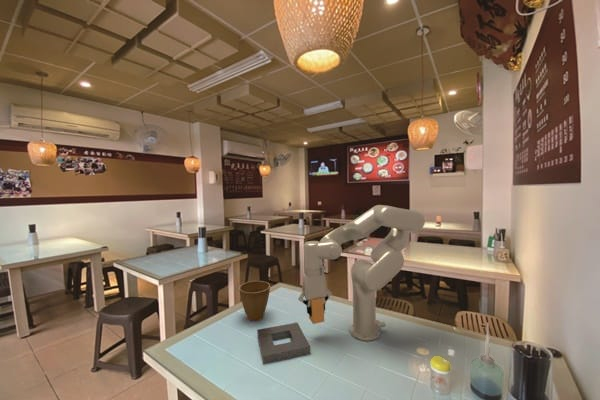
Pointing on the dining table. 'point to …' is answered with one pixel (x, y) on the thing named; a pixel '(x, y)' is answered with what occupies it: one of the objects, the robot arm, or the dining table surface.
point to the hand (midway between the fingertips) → (316, 312)
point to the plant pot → (254, 299)
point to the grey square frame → (285, 350)
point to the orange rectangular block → (317, 310)
